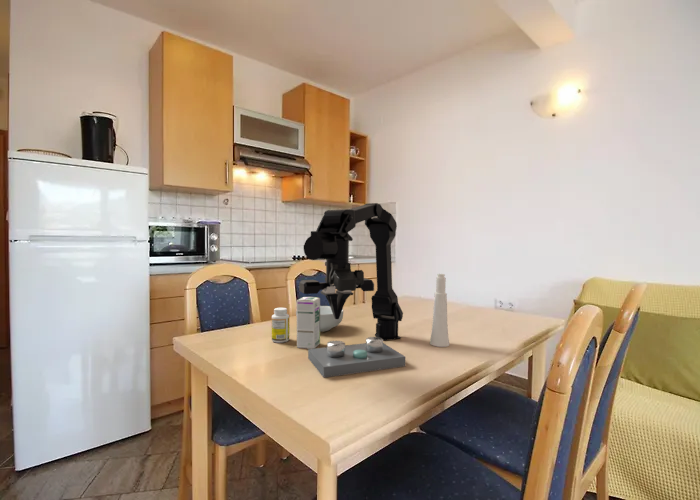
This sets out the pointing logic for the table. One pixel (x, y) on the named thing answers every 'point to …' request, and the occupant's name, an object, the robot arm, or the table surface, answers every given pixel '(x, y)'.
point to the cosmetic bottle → (440, 315)
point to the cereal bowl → (327, 318)
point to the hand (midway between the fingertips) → (336, 319)
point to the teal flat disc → (360, 354)
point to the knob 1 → (336, 349)
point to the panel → (354, 360)
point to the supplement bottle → (280, 325)
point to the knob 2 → (374, 344)
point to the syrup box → (308, 322)
